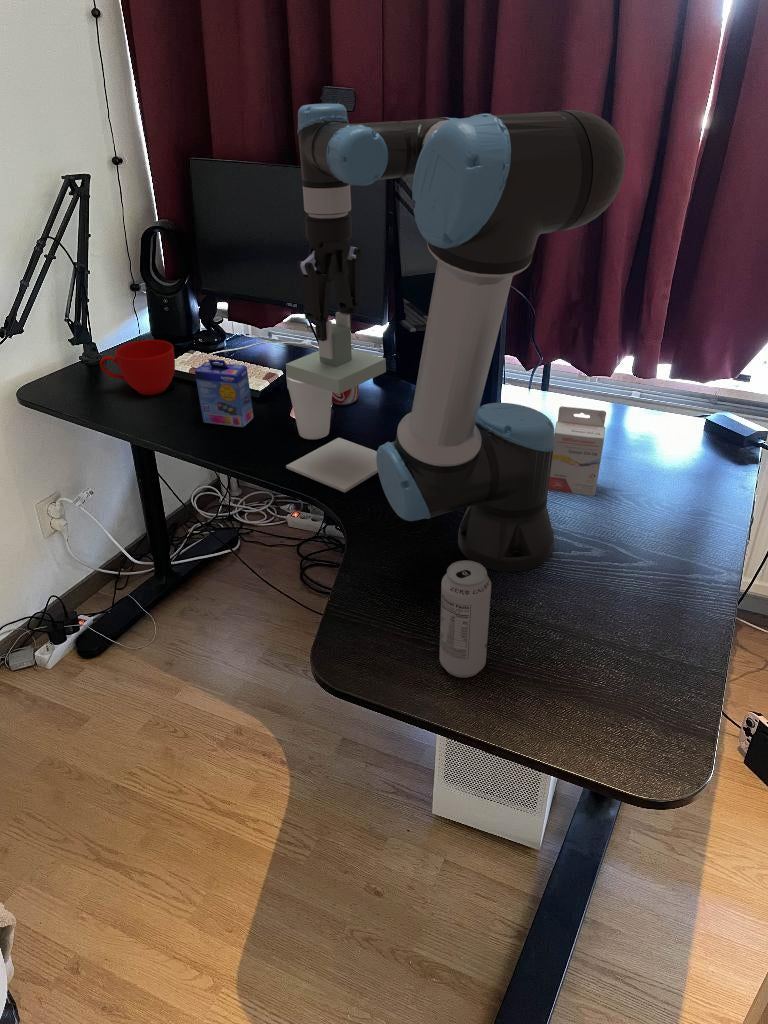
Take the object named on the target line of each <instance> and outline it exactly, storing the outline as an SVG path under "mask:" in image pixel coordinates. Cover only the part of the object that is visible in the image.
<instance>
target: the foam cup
mask: <svg viewBox="0 0 768 1024" xmlns="http://www.w3.org/2000/svg"><path fill="white" fill-rule="evenodd" d="M286 384H287V386H286V387H287V390H288V393H289V397H290V400H291V401H290V402H291V405H292V409H293V413H294V417H295V423H296V426H297V431H298V435H299V436H300V437H301V438H303V439H305V440H319V439H322V438H325V437H327V436H328V435H329V434H330V430H331V429H330V428H331V417H332V415H331V413H332V404H333V402H332V392H331V391H328V390H325V389H322V388H318V387H315V386H312V385H309V384H306V383H303V382H300V381H297V380H294V379H291V378H287V373H286Z"/></svg>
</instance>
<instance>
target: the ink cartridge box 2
mask: <svg viewBox="0 0 768 1024" xmlns="http://www.w3.org/2000/svg"><path fill="white" fill-rule="evenodd" d="M580 414H583V415H585V416H589V417H580V416H575V415H580ZM606 416H607V411H606V410H599V409H591V408H583V407H582V408H581V407H576V406H575V407H574V406H573V407H572V406H565V405H564V406H563V405H561V406H560V407H559V408H558V415H557V421H556V422H555V427H554V446H555V447H554V450H553V455H552V463H551V470H550V479H549V488H548V491H553V492H561V493H568V494H575V495H583V496H590V497H595V495H596V491H597V486H598V479H599V472H600V467H601V461H602V455H603V449H604V443H605V442H604V441H605V434H606V427H605V423H606V418H607V417H606Z"/></svg>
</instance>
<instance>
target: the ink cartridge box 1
mask: <svg viewBox="0 0 768 1024" xmlns="http://www.w3.org/2000/svg"><path fill="white" fill-rule="evenodd" d="M207 359H208V361H205V362H203V363H202V364H201V365H199V366H198V367H197V368H196V369H194V374H195V380H196V386H197V392H198V398H199V404H200V411H201V417H202V422H203V423H205V424H213V425H223V426H229V427H236V428H237V427H238V428H244V427H246V426H247V424H249V423H250V421H252V420H253V419H254V418H255V417H254V410H253V404H252V396H251V389H250V381H249V373H248V367H247V366H246V365H244V364H234V363H233V364H231V363H226V362H225V360H224V359H223V360H222V359H212V358H207Z"/></svg>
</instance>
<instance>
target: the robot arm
mask: <svg viewBox="0 0 768 1024" xmlns="http://www.w3.org/2000/svg"><path fill="white" fill-rule="evenodd" d="M347 111H348V110H347V109H346V107H345V105H344V104H341V103H313V104H311V103H310V104H304V105H302V106H300V108H299V109H298V112H297V136H298V146H299V158H300V159H299V160H300V170H301V181H302V194H303V195H302V196H303V210H304V212H306V215H305V217H304V227H305V238H306V239H307V240H308V242H309V251H308V257H307V258H306V259H305V260H298V261H297V262H296V267H297V268H298V272H299V274H300V279H301V290H302V291H301V292H302V300H303V308H304V318H305V319H306V320H308V321H312V322H314V323H315V337H316V340H317V341H318V351H319V356H321V357H324V358H328V359H333V358H334V356H333V339H332V324H333V322H332V321H331V320H328V319H329V310H330V300H331V299H330V298H331V286H332V285H331V284H332V282H333V288H334V292H335V297H336V302H337V307H338V311H337V312H335V324H338V325H342V326H346V327H350V331H351V330H352V328H353V322H352V320H353V318H352V315H355V314H357V310H358V309H357V308H358V307H359V306H360V304H361V294H360V292H361V287H360V285H361V283H360V281H361V278H360V275H361V274H360V267H361V265H360V261H361V257H362V251H363V250H362V248H361V247H355V246H351V244H350V241H349V240H351V238H352V237H353V225H352V224H353V223H352V222H353V221H352V215H351V214H350V213H349V212H350V211H351V210H352V198H351V197H352V196H351V186H353V187H354V186H359V187H360V186H362V187H363V186H369V185H371V184H374V183H375V182H376V181H379V180H390V179H400V178H405V177H406V178H407V177H413V180H412V191H411V192H412V201H414V202H415V204H414V205H415V206H414V208H413V215H414V219H415V223H416V226H417V228H418V231H419V232H420V235H421V236H422V237H423V239H424V240H425V241H426V245H427V249H428V251H429V253H430V255H432V256H433V258H434V259H435V260H436V261H437V262H436V263H437V264H436V268H435V274H434V280H433V286H432V291H431V297H430V303H429V309H428V315H427V320H426V321H427V322H426V327H425V333H424V338H423V344H422V350H421V357H420V360H419V366H418V367H419V368H418V372H417V373H418V375H417V380H416V385H415V390H414V391H415V392H414V397H413V403H412V407H411V412H409V413H407V414H405V415H404V416H403V418H401V420H400V421H399V423H398V425H397V431H396V436H395V440H394V441H392V442H390V441H387V442H385V443H384V444H381V445H379V446H378V449H377V450H376V451H377V455H376V462H377V469H378V478H379V481H380V484H381V487H382V490H383V493H384V495H385V497H386V499H387V501H388V503H389V505H390V506H391V508H392V510H393V511H394V512H395V513H396V515H397V516H398V517H400V519H402V520H404V521H408V522H414V521H420V520H423V519H424V520H426V519H427V520H429V519H431V518H434V517H437V516H440V515H443V514H447V513H452V512H454V511H459V510H461V509H464V508H466V511H465V513H464V515H463V518H462V520H461V522H460V525H459V528H458V537H457V538H458V540H457V544H458V547H459V550H460V552H461V553H462V555H463V556H464V557H465V558H467V560H468V561H474V562H477V563H479V564H481V565H482V566H484V567H485V569H488V570H489V569H490V570H493V571H500V572H512V573H513V572H521V571H527V570H528V571H529V570H532V569H534V568H535V569H536V568H537V567H539V566H541V565H543V564H545V562H547V561H548V560H549V559H550V558H551V556H552V553H553V550H554V543H555V534H554V530H553V527H552V521H551V518H550V514H549V510H548V507H547V505H548V496H549V494H548V493H549V490H548V488H549V479H550V470H551V463H552V455H553V450H554V447H555V446H554V433H555V427H554V424H553V422H552V420H551V418H549V417H548V416H547V415H546V414H544V413H543V412H542V411H539V410H538V409H534V408H532V407H530V406H525V405H521V404H517V403H511V402H491V403H486V404H482V405H481V403H482V400H483V399H482V398H483V395H484V390H485V386H486V383H487V379H488V374H489V372H490V371H489V370H490V367H491V363H492V359H493V355H494V351H495V348H496V343H497V340H498V336H499V332H500V328H501V324H502V321H503V317H504V314H505V308H506V305H507V301H508V297H509V293H510V291H511V290H510V289H511V285H512V280H513V278H514V276H516V275H518V274H520V273H522V272H523V271H525V270H526V269H528V267H530V264H531V263H532V260H533V256H534V252H535V249H536V245H537V241H538V238H539V236H541V234H543V235H544V234H550V233H555V232H562V231H569V230H573V229H577V228H579V227H582V226H584V225H587V224H588V223H590V222H591V221H593V220H595V219H597V218H598V217H599V216H600V215H601V214H603V212H605V211H606V210H607V209H608V208H609V206H610V205H611V204H612V203H613V201H614V200H615V198H617V195H618V193H619V191H620V189H621V186H622V183H623V180H624V176H625V170H626V154H625V150H624V144H623V142H622V140H621V138H620V135H619V134H618V132H617V130H616V129H614V127H613V126H612V125H611V124H610V123H609V122H608V121H607V120H605V119H604V118H602V117H601V116H599V115H597V114H594V113H591V112H587V111H583V110H578V109H577V110H576V109H566V110H555V111H539V112H523V113H520V112H519V113H506V114H491V113H479V114H473V115H472V116H469V117H464V118H457V117H445V116H443V117H435V118H425V119H423V118H422V119H411V120H401V121H399V120H397V121H396V120H395V121H379V122H365V123H364V122H363V123H349V122H350V121H349V119H348V112H347ZM351 332H352V331H351Z"/></svg>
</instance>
